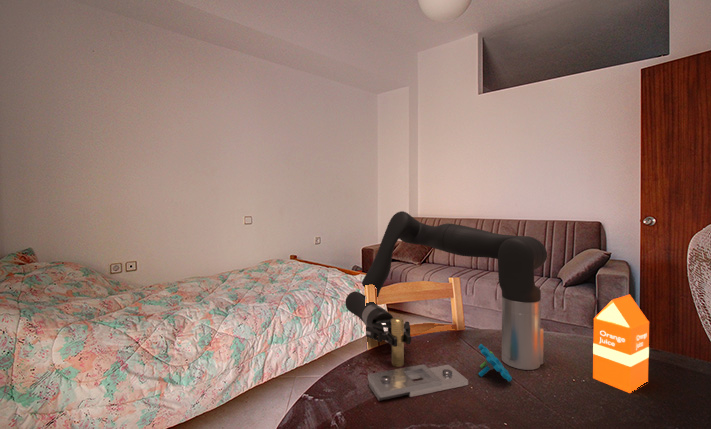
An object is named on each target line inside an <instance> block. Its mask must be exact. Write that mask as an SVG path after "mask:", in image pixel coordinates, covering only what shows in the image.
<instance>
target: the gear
mask: <svg viewBox="0 0 711 429" xmlns="http://www.w3.org/2000/svg"><path fill="white" fill-rule="evenodd" d="M477 347H478V349H479V350H480V353H481V355H483V356H484V357H485V358H484V360H485V361H483V363H481V364H480V365H479V367H480V368H481V370H480V371H479V372H478V375H479V376H480V378H482V377H483V376H485V374H487V373H488V372H489V371H490V370H492V371H493V369H494V370H495V371H496V373H497V372H498V373H500V375H501V376H502V378H503V379H505V380H507V382H509V383H510V382H511V381H513V377H512V375H511V374H510V372H509V370H508V369H506V367H504V364H503V363H502V362H501V361H500V359H499V358H498V357H497V356H496V355H495V354H494V352H492V351H491V350H489V349H488V347H486V346H485V345H483V344H482V343H480V344H479V345H478V346H477Z"/></svg>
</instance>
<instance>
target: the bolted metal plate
mask: <svg viewBox="0 0 711 429" xmlns="http://www.w3.org/2000/svg"><path fill="white" fill-rule="evenodd" d="M419 379H420V380H419ZM367 380H368V387H369V388H370V390H371V392H373V394H374V396H375V397H376V399H377V400H378V402H379V401H384V400H389V399H395V398H398V397H403V396H408V397H409V398H413V397H417V396H422V395H427V394H428V395H429V394H432V393H436V392H440V391H441V392H442V391H446V390H451V389H455V388H461V387H465V386H469V379H467V378H466V376H464V375H462V374H461V373H460V372H459V371H458V370H456V369H455V368H454V367H453V366H451V365H450V364H444V365H439V366H433V367H428V366H427V365H426V364H419V365H413V366H412V365H411V366H407V367H402V368H395V369H389V370H385V371H384V370H383V371H380V372H374V373H373V372H372V373H368V374H367ZM414 380H415V381H414Z"/></svg>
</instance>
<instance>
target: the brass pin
mask: <svg viewBox="0 0 711 429" xmlns="http://www.w3.org/2000/svg"><path fill="white" fill-rule="evenodd" d="M404 323H405V322H404V318H403V317H401V316H393V318H392V319H391V332H392V335H394V336H395V337H396V338H397V346H396V347H394V346H393V345H391V365H392V366H393V367H398V368H399V367H403V366H404V365H405V356H404V355H405V346H404V345H405V342H404Z"/></svg>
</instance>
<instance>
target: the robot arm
mask: <svg viewBox="0 0 711 429" xmlns="http://www.w3.org/2000/svg"><path fill="white" fill-rule="evenodd" d="M399 240H400V241H402V242H403V243H406V244H411V245H418V246H419V245H420V246H426V247H430V248H432V249H436V250H438V251H441V252H445V253H448V254H453V255H456V256H460V257H461V256H462V257H472V258H486V259H487V258H488V259H496V260H497V273H498V276H497V277H498V284H499V288H500V290H501V361H502V362H503V363H505V365H507V366H509V367H512V368H515V369H518V370H525V371H527V370H528V371H531V370H536V369H539V368H540V367H541V365H543V364H544V327H542V325H541V324H542V322H541V321H542V320H541V306H542V305H541V304H542V302H541V300H542V292H541V289H540V288H539V286H537V285H536V284H535V270H536V269H538V268H540V267H542V266H543V265H544V264H545V262H546V261H547V258H548V252H547V249H546V246H545V245H544V244H543V243H542V242H541V241H540V240H539V239H537V238H535V237H532V236H529V235H528V236H525V235H514V234H513V235H511V234H500V233H495V232H490V231H489V230H488V231H487V230H484V229H479V228H476V227H470V226H466V225H463V224H462V225H461V224H456V223H442V224H439V225H435V226H434V225H430V224H429V225H428V224H425V223H423V222H420V221H418V220H417V219H416V218H414V216H412V215H411V214H410V213H408V212H406V211H404V210H401V211H398V212H396V213H395V214H393V216H392V217H391V218H390V220H389V222H388V223H387V226H386V229H385V232H384V234H383V236H382V239H381V242H380V245H379V247H378V250H377V253H376V255H375V257H374V259H373V261H372V263H371V265H370V267H369V268H368V269H367V270H368V271H367V272H366V274H365V275H364V277H363V279H362V282H361V284H362V286H363V287H364V288H365V285H369V284H373V285H375V287H376V288H377V297H378V298H379V295H380V292H381V289H382V287H383V286H384V284H385V283H386V281H387V279H388V277H389V275H390V272H391V267H392V260H393V259H392V258H393V254H394V249H395V247H396V244H397V243H398V241H399ZM365 296H366V295H365V294H363V293H361V292H359V291H352V292H349V294H348V295H347V296H346V298H345V307H346V310H347V311H349V312H350V313H351V314H353V315H354V316H356V317H357V318H359V319H360V321H362V322H363V323H364V325H365V337H367V338H369V339H371V340H373V341H376V342H378V343H383V341H384V342H385V343H388V344H389V345H390V346H392V345H393V346H394V347H396V346H397V338H396V337H395V336H394V335H392V332H391V319H392V318H393V317H394V316H393V315H392V314H391V313H390V312H388V311H387V310H386V309H384V307H382V306H380V305H378V304H377V303H376V304H375V303H374V302H369V303H366V306H365ZM411 343H412V336H411V325H410V322H409V321H405V322H404V344H406V346H408V345H411Z"/></svg>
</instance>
